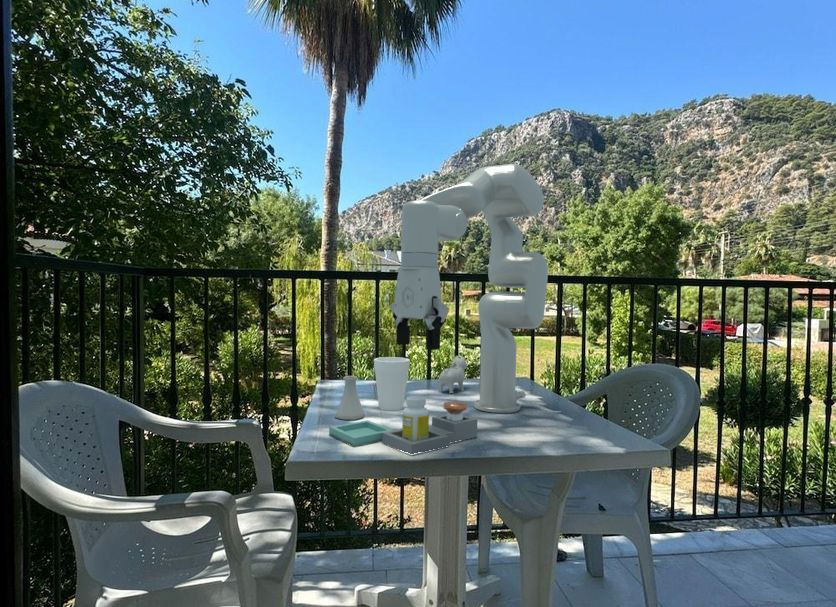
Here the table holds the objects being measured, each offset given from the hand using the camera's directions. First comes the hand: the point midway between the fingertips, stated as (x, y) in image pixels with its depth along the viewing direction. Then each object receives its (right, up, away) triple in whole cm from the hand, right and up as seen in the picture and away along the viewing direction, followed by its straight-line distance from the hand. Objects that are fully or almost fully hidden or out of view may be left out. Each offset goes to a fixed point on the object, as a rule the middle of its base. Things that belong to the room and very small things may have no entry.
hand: (417, 346), depth 107 cm
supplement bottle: (0, -20, +1) cm, 20 cm away
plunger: (+8, -20, +8) cm, 23 cm away
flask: (-17, -19, +22) cm, 34 cm away
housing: (+3, -20, +4) cm, 21 cm away
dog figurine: (+11, -19, +58) cm, 62 cm away
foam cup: (-7, -19, +33) cm, 39 cm away
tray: (-12, -20, +5) cm, 24 cm away
